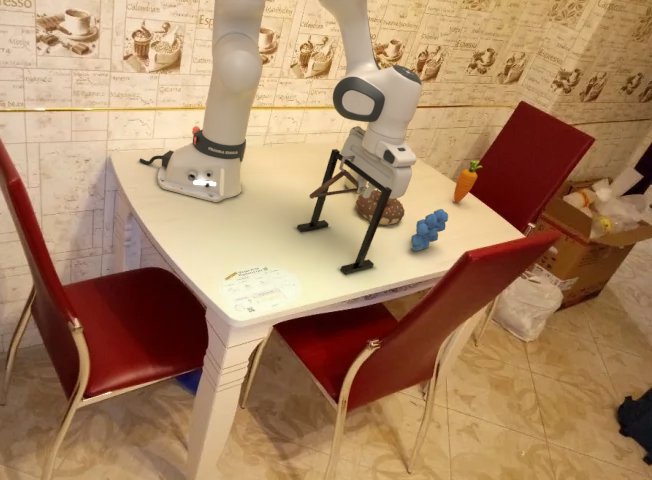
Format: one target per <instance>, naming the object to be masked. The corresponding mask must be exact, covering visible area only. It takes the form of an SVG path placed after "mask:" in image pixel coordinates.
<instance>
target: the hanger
mask: <svg viewBox="0 0 652 480" xmlns="http://www.w3.org/2000/svg"><path fill="white" fill-rule="evenodd" d="M345 159H351V162H354V159H355V156H344V157H343V158H342V161H340V164H339V167H338V169H339V170H340V172H338V173H337V174H335V175H333V176H332V178H331V179H330V180H329V181H327V182H326V183H325V184H323V185H322V184H321V185H322V186H321V185H320V186H319V187H318V188H316V189H315V190H314V191H312V192H311V193H310V194H309V199H310V200H311V199H312V200H313V199H315V198H318V197H322V196H326V197H328V196H334V195H342V194H348V193H354V192H355V193H357V190H358V187H359V185H358V181H357V180H356V179H355V178H354V177H353V176H352V175H351V174H350V173H349V171H348V170H347V169H345V168H344V165H345V164H344V161H345ZM343 177H345V178H347V179H348V180H349V181H350V182H351V183H353V184H354V185H355V186H356V187H357V188H353V189H349V188H348V189H347V188H346V189H340V190H334V191H328V192H325V193H321V192H323V191H324V190H325V189H327V188H328V187H329V188H330V187H331V186H332V185H333V184H335V183H337V181H339V180H340V179H341V178H343Z"/></svg>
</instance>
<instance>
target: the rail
mask: <svg viewBox="0 0 652 480" xmlns="http://www.w3.org/2000/svg"><path fill="white" fill-rule="evenodd" d="M340 153H341V150H338V148H333V149H331V152H330V156H329V159H328V162H327V165H326V168H325V171H324V176H323V178H322V183H321V185H320V187H321V186H322V185H323V184H325V183H326V182H327V181H329V180H330V179H331V178H333V177H334V173H335V170H336V165H337V163H338V160H339V161H340V162H341V161H342V158H343V157H344V156H342V155H341V154H340ZM344 165H345V166H347V168H349V169H350V168H351V169H352V170H353V171H355V172H356V173H357V174H359V175H360V176H361V177H363V178H364V179H365V180H367V183H370V184H372V185H373V186H374V187H376V189H377V190H378V191H380V192H382V193H381V196H380V198H379V201H378V203H377V206H376V209H375V211H374V214H373V216H372V219H371V221H369V225H368V227H367V230H366V231H365V234H364V237H363V240H362V243H361V245H360V248H359V251H358V253H357V256H356V258H355V261H354V262H352V263H349V264H344V265H341V267H340V269H339V270H340V272H341V273H342V274H344V275H345V276H347V275H351V274H355V273H359V272H362V271H366V270H369V269H373V268H374V266H375V263H374V262H373V261H371V260H370V259H366V258H367V255H368V253H369V250H370V247H371V244H372V242H373V240H374V237H375V235H376V232H377V230H378V227H379V225H380V224H379V222H380V220H381V217H382V215H383V212H384V210H385V207H386V205H387V202H388V199H389V197H390V194H391V192H392V190H391V189H390V188H389V187H384V186H383V185H381V184H380V183H379V182H377V181H376V180H375V179H373V178H372V177H371V176H369V175H368V174H366V173H365V172H364V171H362V170H361V169H360V168H358V167H357V166H356V165H354V164H353V163H352V162H350V161H349V160H348V159H345V161H344ZM329 189H330V186H329V187H328V188H327V189H325V190H324V191H323V192H321V193H325V192H329ZM326 198H327V196H322V197H316V202H315V205H314V207H313V212H312V215H311V219H310V222H306V223H300V224H297V226H296V230H297V231H299V232H300V233H301V234H302V233H307V232H311V231H318V230H322V229H327V228H329V225H330V224H329V222H328V221H326V220H325V219H322V220H320V217H321V215H322V211H323V208H324V205H325V202H326Z"/></svg>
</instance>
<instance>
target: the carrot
mask: <svg viewBox="0 0 652 480" xmlns="http://www.w3.org/2000/svg"><path fill="white" fill-rule="evenodd" d="M479 163H480V160H471V161H470V163H469V165H470V166H469V168H465V169H463V170H461V172H460V174H459V176H458V179H457V181H456V184H455V188H454V193H453V200H454V204H457V203H459V202H461V201H462V200H463V199H464V198H465V197H466V196H467V195H468V194H469V192H470V191H471V190H472V188H473V186H474V185H475V182H476V181H477V179H478V174H477V172H476V170H478V169H482V168H483V166H482V165H479Z"/></svg>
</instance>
